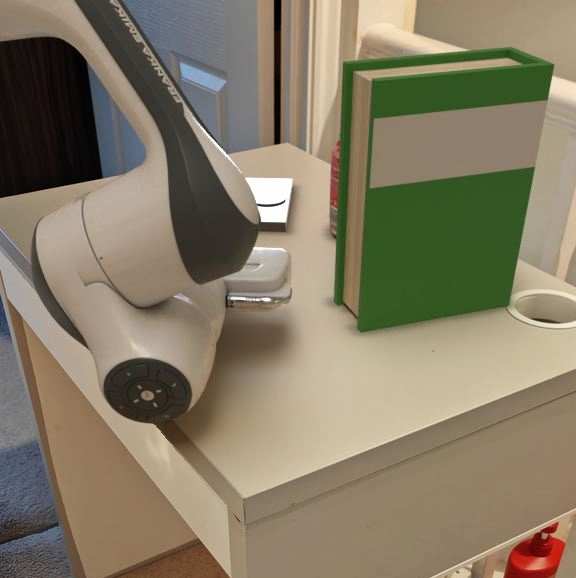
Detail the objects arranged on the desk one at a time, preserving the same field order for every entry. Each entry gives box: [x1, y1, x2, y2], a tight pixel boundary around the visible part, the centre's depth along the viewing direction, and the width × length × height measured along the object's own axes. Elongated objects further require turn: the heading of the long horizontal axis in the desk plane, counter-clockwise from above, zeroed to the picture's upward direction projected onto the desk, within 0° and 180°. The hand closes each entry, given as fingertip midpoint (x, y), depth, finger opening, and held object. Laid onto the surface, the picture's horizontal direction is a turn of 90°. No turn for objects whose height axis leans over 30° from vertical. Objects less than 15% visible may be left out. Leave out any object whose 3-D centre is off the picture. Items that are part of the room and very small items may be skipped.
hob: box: [245, 177, 294, 233], centre depth 112 cm, size 20×16×2 cm
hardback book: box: [333, 46, 555, 333], centre depth 83 cm, size 18×7×24 cm, turn 110°
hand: (199, 242), depth 88 cm, fingers closed on beverage cup, 5 cm apart
